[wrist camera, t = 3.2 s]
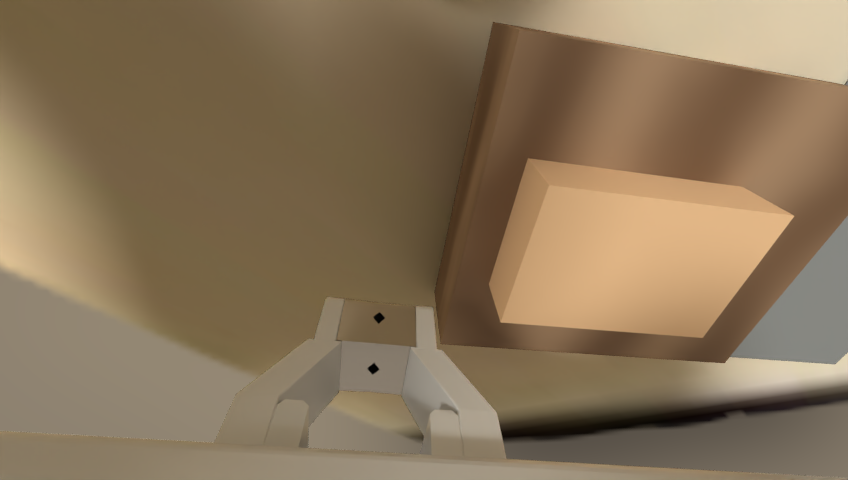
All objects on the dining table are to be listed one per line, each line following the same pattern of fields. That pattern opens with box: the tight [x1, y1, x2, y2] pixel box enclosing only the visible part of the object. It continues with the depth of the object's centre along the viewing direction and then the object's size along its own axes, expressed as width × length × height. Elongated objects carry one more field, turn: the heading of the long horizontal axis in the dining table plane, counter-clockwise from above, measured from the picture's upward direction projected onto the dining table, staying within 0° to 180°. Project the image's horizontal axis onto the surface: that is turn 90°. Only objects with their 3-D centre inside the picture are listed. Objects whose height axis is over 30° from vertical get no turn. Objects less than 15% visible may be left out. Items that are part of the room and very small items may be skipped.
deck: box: [435, 22, 848, 363], centre depth 18 cm, size 16×14×4 cm
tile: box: [489, 158, 794, 338], centre depth 15 cm, size 9×6×2 cm, turn 81°
